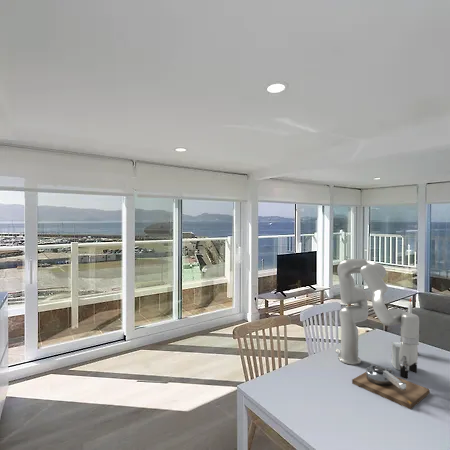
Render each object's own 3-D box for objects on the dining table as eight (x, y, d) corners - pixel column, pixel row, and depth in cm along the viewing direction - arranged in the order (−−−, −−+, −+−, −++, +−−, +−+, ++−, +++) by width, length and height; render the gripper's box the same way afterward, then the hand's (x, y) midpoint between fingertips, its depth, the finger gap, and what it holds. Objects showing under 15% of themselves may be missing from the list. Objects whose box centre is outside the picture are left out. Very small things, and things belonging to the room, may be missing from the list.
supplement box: (410, 371, 167) (410, 348, 167) (395, 369, 168) (395, 346, 168) (405, 365, 174) (405, 342, 174) (391, 363, 176) (391, 341, 176)
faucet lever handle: (361, 374, 158) (361, 361, 158) (382, 373, 160) (382, 360, 160) (392, 400, 134) (392, 385, 134) (417, 398, 136) (417, 384, 136)
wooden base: (352, 383, 153) (352, 379, 153) (373, 371, 166) (373, 367, 166) (410, 409, 132) (410, 404, 132) (429, 393, 144) (429, 388, 144)
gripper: (408, 333, 155) (408, 366, 155) (393, 341, 144) (392, 376, 145) (425, 338, 149) (424, 372, 149) (410, 346, 138) (409, 383, 139)
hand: (408, 374), depth 147 cm, fingers open, 9 cm apart
